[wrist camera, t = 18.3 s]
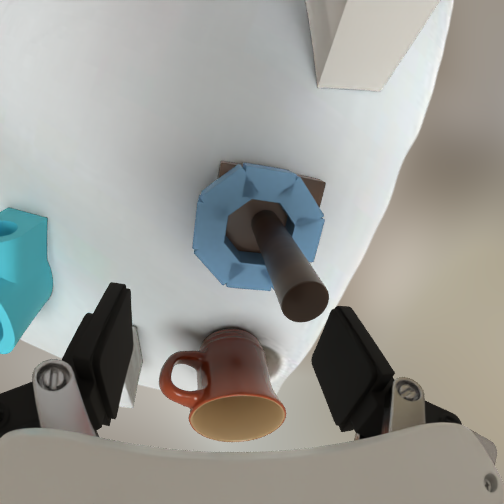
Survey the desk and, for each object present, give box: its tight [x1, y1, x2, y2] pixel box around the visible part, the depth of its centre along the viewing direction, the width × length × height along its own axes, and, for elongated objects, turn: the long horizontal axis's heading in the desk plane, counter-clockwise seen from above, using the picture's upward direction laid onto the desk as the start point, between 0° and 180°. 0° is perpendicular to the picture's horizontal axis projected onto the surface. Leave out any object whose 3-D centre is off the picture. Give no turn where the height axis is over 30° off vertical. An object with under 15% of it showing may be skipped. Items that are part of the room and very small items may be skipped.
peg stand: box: [218, 161, 329, 322], centre depth 19 cm, size 9×9×14 cm
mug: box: [159, 329, 286, 442], centre depth 26 cm, size 12×9×10 cm
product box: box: [119, 326, 143, 408], centre depth 26 cm, size 6×6×7 cm
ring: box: [192, 163, 325, 291], centre depth 23 cm, size 10×10×2 cm
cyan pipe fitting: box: [0, 208, 53, 354], centre depth 20 cm, size 12×9×9 cm
